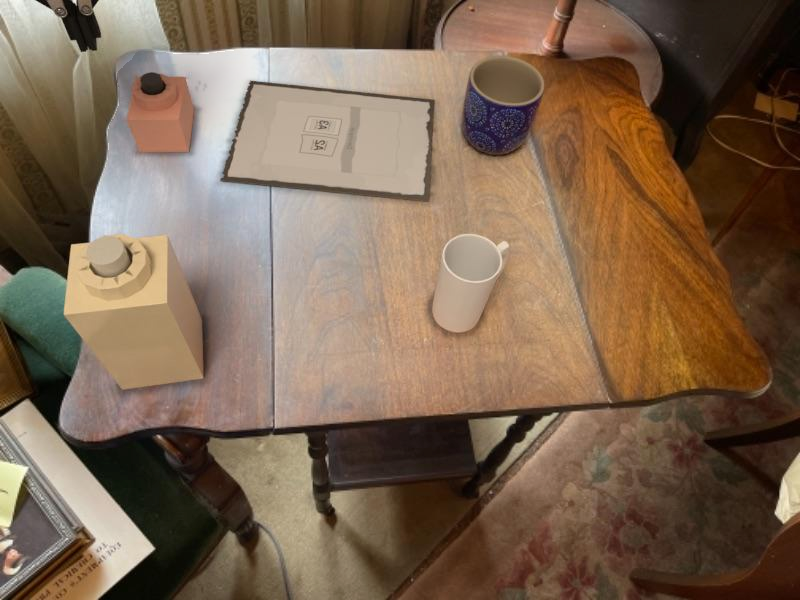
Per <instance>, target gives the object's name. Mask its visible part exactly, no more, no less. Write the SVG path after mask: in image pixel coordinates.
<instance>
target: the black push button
mask: <svg viewBox="0 0 800 600" xmlns="http://www.w3.org/2000/svg"><path fill="white" fill-rule="evenodd" d="M159 74H160V73H158V72H155V71H154V72H153V71H152V72H146V73H144V74H142V75H141V76H142V77H141V78H140V82H141V84H142V87H143V90H144V92H145V93H146V94H147V95H157V94H160V93H162V92H163V91H164V84H163V81H162V78H161V76H160V75H159Z"/></svg>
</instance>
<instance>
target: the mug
mask: <svg viewBox="0 0 800 600" xmlns="http://www.w3.org/2000/svg"><path fill="white" fill-rule="evenodd" d="M509 247H510V244H509V243H508V242H507V241H506V240H502V241H501V242H500V243H498V244H495V242H493V241H492V240H491V239H490V238H488V237H485V236H483V235H479V234H475V233H462V234H459V235H457V236H453V237H452V238H450V239H449V240H448V241H447V242H446V244H445V245H444V247H443V249H442V254H441V259H440V264H439V268H438V274H437V278H436V284H435V290H434V294H433V301H432V306H431V312H432V317H433V320H434V321H435V322H436V324H437V325H438V326H439V327H441V328H442V329H443V330H445V331H447V332H450V333H459V334H460V333H465V332H469V331H471V330H472V329H473V328H475V327H476V325H477V324H478V323H479V320H480V318H481V316H482V315H483V312H484V310H485V307H486V305H487V303H488V300H489V298H490V296H491V293H492V291H493V289H494V286H495V284H496V282H497V280H498V279H499V277H500V276H501V274H502V273H503V271H504V269H505V268H506V265H507V264H508V261H509V258H510V255H511V253H510V248H509Z"/></svg>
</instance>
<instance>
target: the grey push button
mask: <svg viewBox="0 0 800 600" xmlns="http://www.w3.org/2000/svg"><path fill="white" fill-rule="evenodd" d="M103 236H104V237H102V236H100V237H98V238H96V239H94V240H92V241H93V242H92V241H91V242H92V243H91V244H90V245H89V246H88V248H87V251H86V255H87V258H88V260H89V261H90V263H91V265H92V266H93V268H94V269H95V271H96V272H97V273H98V274H99V275H101V276H104V277H114V276H117V275H120V274H122V273H123V272H124V271H126V269H127V268H128V267H129V265H130V256H129V254H128V252H127V250H126V248H125V246H124V244H123V243H122V241H121V240H120V239H118V238H116V237H113V236H105V235H103Z"/></svg>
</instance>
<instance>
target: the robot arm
mask: <svg viewBox="0 0 800 600" xmlns="http://www.w3.org/2000/svg"><path fill="white" fill-rule="evenodd" d="M35 1H36V2H37V3H39V4H41V5H43V6H44V7H46V8H48V9H49V10H51V11H52V12H53V13H54V15H55V16H57V17H58V18H60V19H61V22H62V24H63V26H64V29H65V30H66V34H67V36H68V38H69V40H70V41H71V42H73V41H76V43H77V44H76V45H77V46H78V49H79V51H80V53H84V52H85V53H86V52H87V51H88V50H89V51H91V52H96V51H98V43H97V41H98V40H97V39H101V38H102V32H101V27H100V25H99V23H98V19H97V16H96V14H95V11H94V8H95V7H96V5H97V4H98V3H99V1H100V0H75V2H74V1H73V0H35Z"/></svg>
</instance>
